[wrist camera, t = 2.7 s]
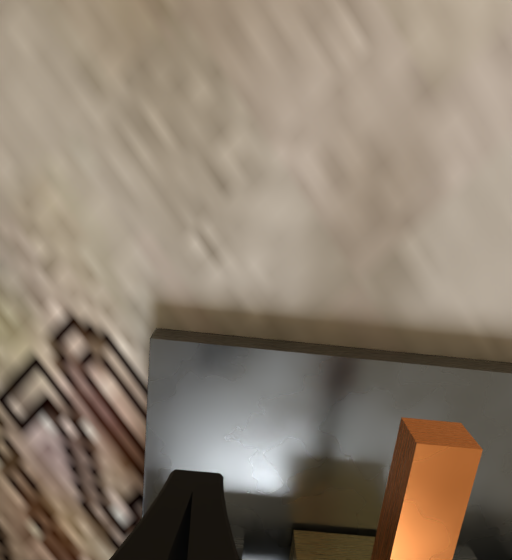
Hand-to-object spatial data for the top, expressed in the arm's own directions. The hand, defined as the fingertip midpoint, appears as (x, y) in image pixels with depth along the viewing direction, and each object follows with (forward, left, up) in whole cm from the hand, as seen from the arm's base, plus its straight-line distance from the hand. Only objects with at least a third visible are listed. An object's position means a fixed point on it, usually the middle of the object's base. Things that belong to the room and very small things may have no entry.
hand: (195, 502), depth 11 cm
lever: (+6, -3, 0) cm, 7 cm away
